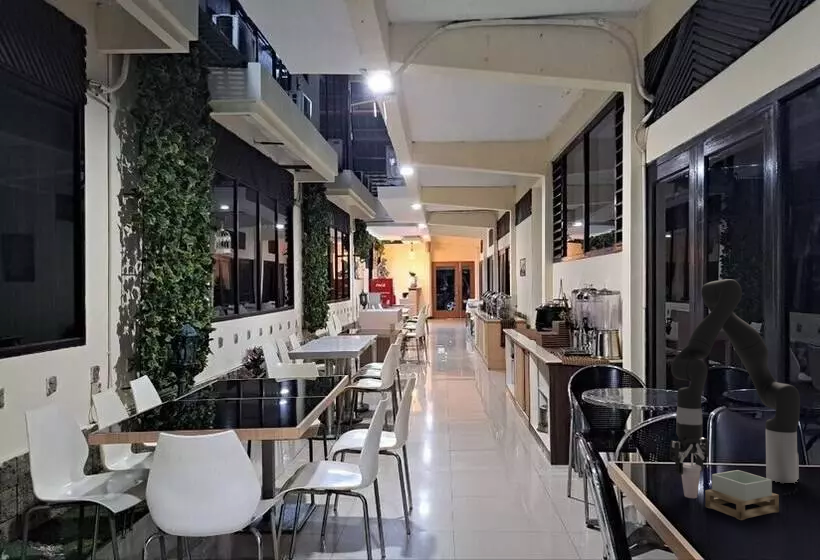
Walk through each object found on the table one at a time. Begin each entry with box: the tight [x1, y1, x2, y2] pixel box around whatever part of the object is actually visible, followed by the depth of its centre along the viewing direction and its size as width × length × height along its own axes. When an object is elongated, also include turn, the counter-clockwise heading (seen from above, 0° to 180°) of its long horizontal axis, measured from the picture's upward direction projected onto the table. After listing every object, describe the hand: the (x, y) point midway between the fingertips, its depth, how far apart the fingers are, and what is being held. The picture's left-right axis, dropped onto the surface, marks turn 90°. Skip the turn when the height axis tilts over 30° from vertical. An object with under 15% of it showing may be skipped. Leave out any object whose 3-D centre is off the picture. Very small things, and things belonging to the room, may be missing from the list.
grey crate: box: [711, 469, 773, 501], centre depth 185 cm, size 11×11×5 cm
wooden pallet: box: [704, 488, 780, 521], centre depth 185 cm, size 16×12×5 cm
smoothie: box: [681, 453, 701, 499], centre depth 197 cm, size 6×6×14 cm
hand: (689, 472), depth 197 cm, fingers open, 8 cm apart
